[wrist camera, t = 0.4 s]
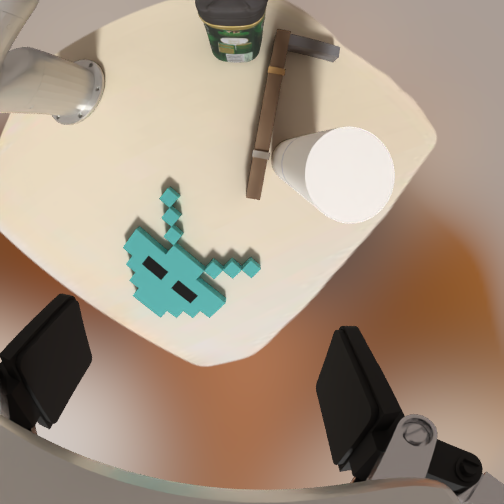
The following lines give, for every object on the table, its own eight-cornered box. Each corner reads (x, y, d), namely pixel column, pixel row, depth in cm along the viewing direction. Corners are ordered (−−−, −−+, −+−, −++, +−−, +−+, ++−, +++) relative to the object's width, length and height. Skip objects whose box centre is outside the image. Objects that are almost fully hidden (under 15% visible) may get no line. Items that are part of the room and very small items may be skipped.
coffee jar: (214, 16, 32) (199, -46, 15) (263, 18, 33) (273, -45, 15) (209, 64, 36) (186, 14, 18) (259, 66, 36) (269, 14, 19)
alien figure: (171, 186, 43) (110, 268, 48) (167, 188, 41) (105, 272, 46) (260, 263, 48) (190, 331, 53) (260, 269, 46) (188, 337, 51)
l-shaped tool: (244, 193, 43) (244, 197, 39) (273, 37, 34) (276, 27, 30) (307, 204, 44) (313, 210, 40) (334, 52, 35) (342, 44, 31)
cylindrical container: (262, 157, 41) (283, 164, 18) (297, 130, 40) (360, 108, 17) (290, 192, 43) (341, 242, 20) (324, 165, 42) (409, 187, 19)
